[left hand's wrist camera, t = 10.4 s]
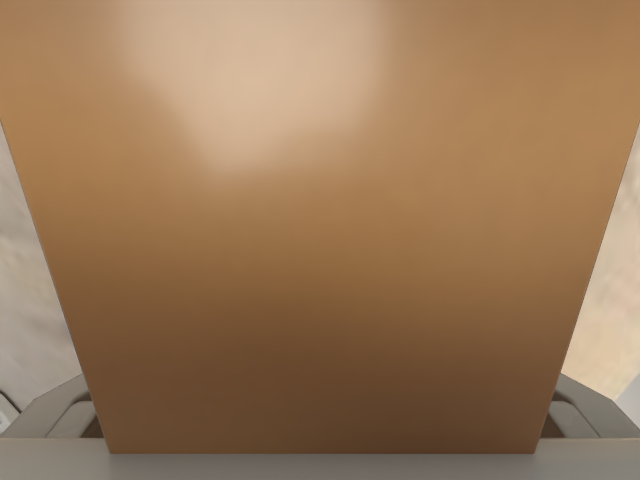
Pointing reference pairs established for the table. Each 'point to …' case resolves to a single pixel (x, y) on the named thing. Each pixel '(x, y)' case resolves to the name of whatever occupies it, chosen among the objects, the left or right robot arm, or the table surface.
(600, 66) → the box
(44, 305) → the table surface
